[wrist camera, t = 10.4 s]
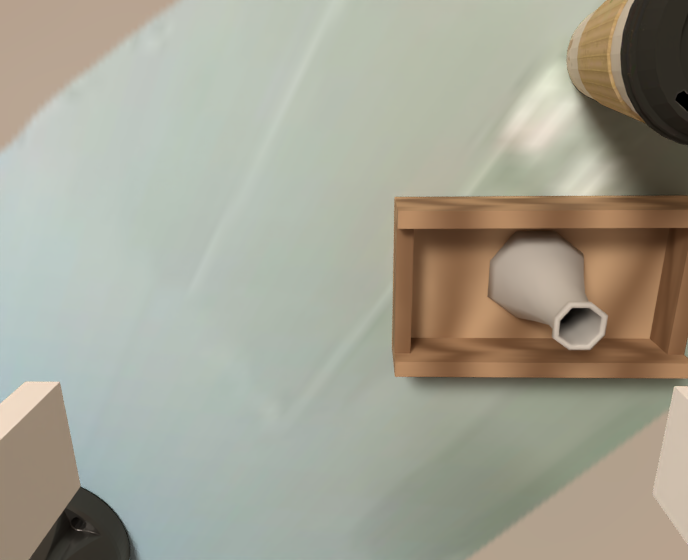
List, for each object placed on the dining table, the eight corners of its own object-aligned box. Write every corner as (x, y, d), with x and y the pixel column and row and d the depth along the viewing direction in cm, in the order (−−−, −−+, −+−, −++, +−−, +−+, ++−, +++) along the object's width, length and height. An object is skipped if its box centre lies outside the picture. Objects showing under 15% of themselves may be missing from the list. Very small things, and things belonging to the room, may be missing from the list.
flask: (557, 329, 45) (609, 394, 35) (471, 302, 44) (500, 361, 35) (598, 244, 42) (665, 291, 33) (508, 215, 42) (549, 254, 32)
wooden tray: (391, 346, 46) (395, 376, 42) (394, 197, 42) (398, 211, 38) (657, 347, 46) (691, 378, 41) (686, 195, 42) (727, 209, 37)
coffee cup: (718, 39, 38) (926, 14, 24) (609, 156, 41) (738, 194, 27) (616, -62, 36) (775, -155, 22) (509, 66, 39) (591, 57, 25)
